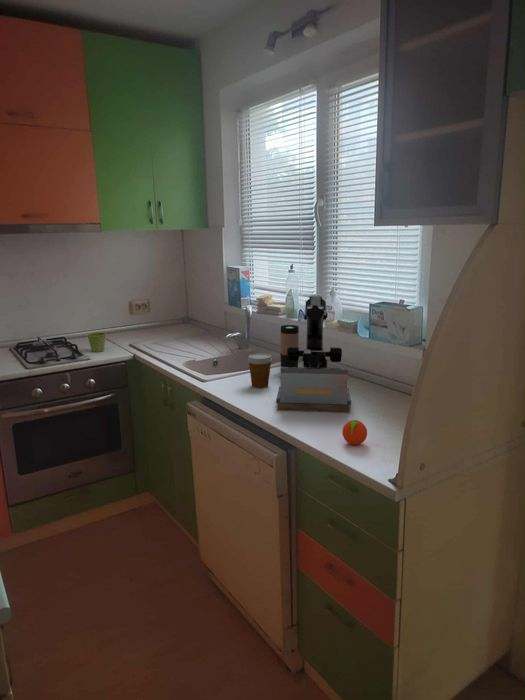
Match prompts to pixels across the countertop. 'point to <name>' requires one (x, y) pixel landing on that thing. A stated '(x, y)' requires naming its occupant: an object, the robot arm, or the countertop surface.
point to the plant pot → (97, 341)
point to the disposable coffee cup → (259, 369)
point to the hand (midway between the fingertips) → (313, 375)
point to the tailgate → (313, 385)
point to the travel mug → (288, 343)
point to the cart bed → (314, 405)
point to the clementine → (354, 432)
